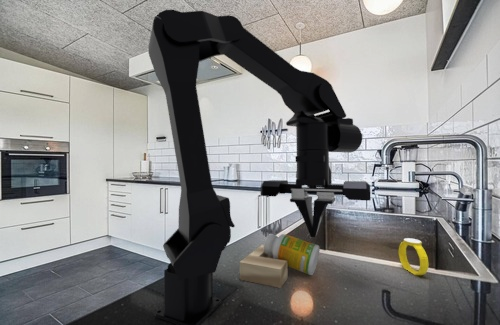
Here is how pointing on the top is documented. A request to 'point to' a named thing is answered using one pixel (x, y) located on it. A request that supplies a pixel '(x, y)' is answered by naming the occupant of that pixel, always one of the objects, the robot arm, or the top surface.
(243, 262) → the beige c-shaped block
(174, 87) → the robot arm
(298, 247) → the supplement bottle
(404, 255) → the watch
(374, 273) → the top surface
